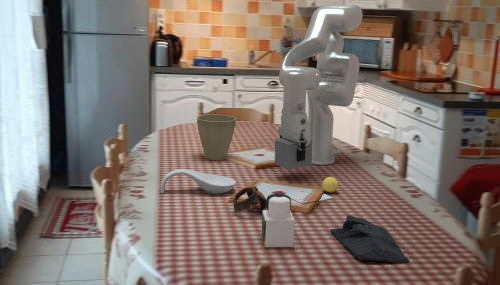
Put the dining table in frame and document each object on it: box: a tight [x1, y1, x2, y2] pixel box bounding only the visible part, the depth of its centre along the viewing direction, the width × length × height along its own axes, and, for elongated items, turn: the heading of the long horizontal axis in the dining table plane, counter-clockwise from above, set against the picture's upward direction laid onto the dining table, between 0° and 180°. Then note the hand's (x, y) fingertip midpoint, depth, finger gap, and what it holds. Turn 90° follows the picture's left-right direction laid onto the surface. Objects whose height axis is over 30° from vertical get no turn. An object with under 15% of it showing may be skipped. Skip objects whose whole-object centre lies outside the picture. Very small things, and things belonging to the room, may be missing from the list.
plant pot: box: [196, 113, 237, 161], centre depth 215 cm, size 15×15×16 cm
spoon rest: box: [159, 168, 237, 195], centre depth 176 cm, size 24×12×7 cm, turn 98°
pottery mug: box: [232, 185, 267, 212], centre depth 160 cm, size 12×10×8 cm
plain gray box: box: [274, 137, 313, 171], centre depth 192 cm, size 10×8×9 cm
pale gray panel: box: [318, 193, 334, 202], centre depth 174 cm, size 12×10×1 cm
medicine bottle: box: [261, 192, 296, 248], centre depth 138 cm, size 7×7×12 cm
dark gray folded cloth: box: [330, 215, 410, 264], centre depth 139 cm, size 15×22×5 cm
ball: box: [322, 176, 339, 194], centre depth 179 cm, size 5×5×5 cm
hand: (293, 157), depth 192 cm, fingers closed on plain gray box, 7 cm apart
